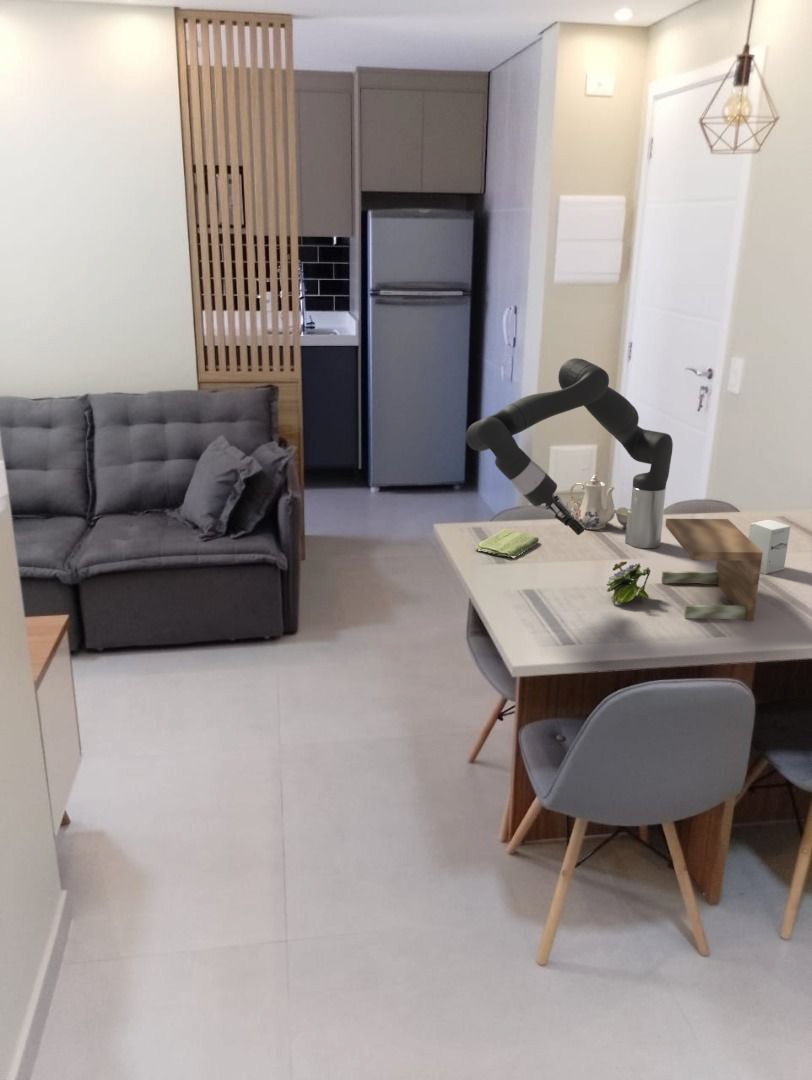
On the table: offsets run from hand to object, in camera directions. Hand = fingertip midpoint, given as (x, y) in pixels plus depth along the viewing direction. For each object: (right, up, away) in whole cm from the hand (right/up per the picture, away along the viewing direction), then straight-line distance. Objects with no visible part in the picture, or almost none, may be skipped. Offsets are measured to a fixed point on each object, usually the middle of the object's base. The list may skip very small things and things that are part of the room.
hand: (581, 531), depth 213 cm
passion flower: (+13, -17, +5) cm, 22 cm away
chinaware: (+18, +3, +63) cm, 66 cm away
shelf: (+31, -17, +5) cm, 36 cm away
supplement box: (+55, -10, +25) cm, 61 cm away
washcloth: (-13, -5, +42) cm, 44 cm away
